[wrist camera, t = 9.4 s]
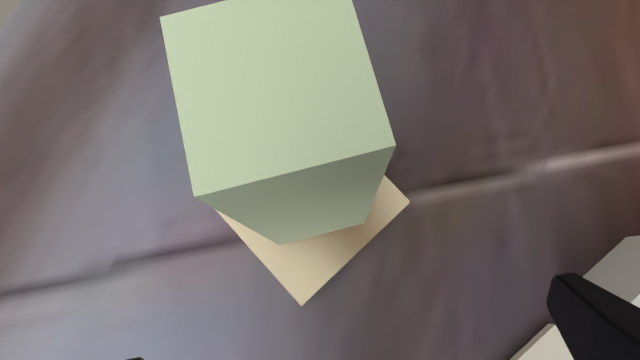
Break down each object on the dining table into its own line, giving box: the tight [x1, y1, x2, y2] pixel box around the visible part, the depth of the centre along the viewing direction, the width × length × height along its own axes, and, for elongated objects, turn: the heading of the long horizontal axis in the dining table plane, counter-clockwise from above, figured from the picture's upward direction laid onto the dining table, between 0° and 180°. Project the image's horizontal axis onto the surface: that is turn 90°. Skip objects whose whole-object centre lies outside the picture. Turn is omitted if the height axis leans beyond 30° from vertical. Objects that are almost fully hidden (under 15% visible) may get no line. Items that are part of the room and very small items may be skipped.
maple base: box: [215, 175, 410, 306], centre depth 22 cm, size 7×7×3 cm
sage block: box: [160, 0, 396, 245], centre depth 15 cm, size 4×4×12 cm
